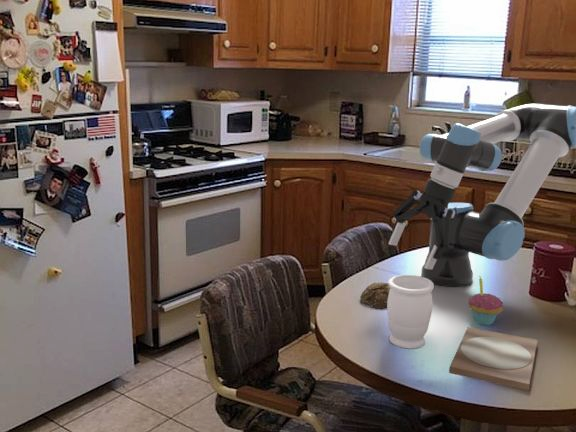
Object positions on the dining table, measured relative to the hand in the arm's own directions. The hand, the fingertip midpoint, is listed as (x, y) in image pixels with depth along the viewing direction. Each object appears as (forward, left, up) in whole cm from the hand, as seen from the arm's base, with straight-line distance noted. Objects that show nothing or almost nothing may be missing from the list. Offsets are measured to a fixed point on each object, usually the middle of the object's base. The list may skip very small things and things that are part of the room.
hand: (409, 256), depth 164 cm
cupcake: (-11, +17, -14) cm, 25 cm away
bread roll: (+4, -6, -14) cm, 16 cm away
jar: (+14, +17, -14) cm, 26 cm away
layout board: (+2, +33, -14) cm, 36 cm away
